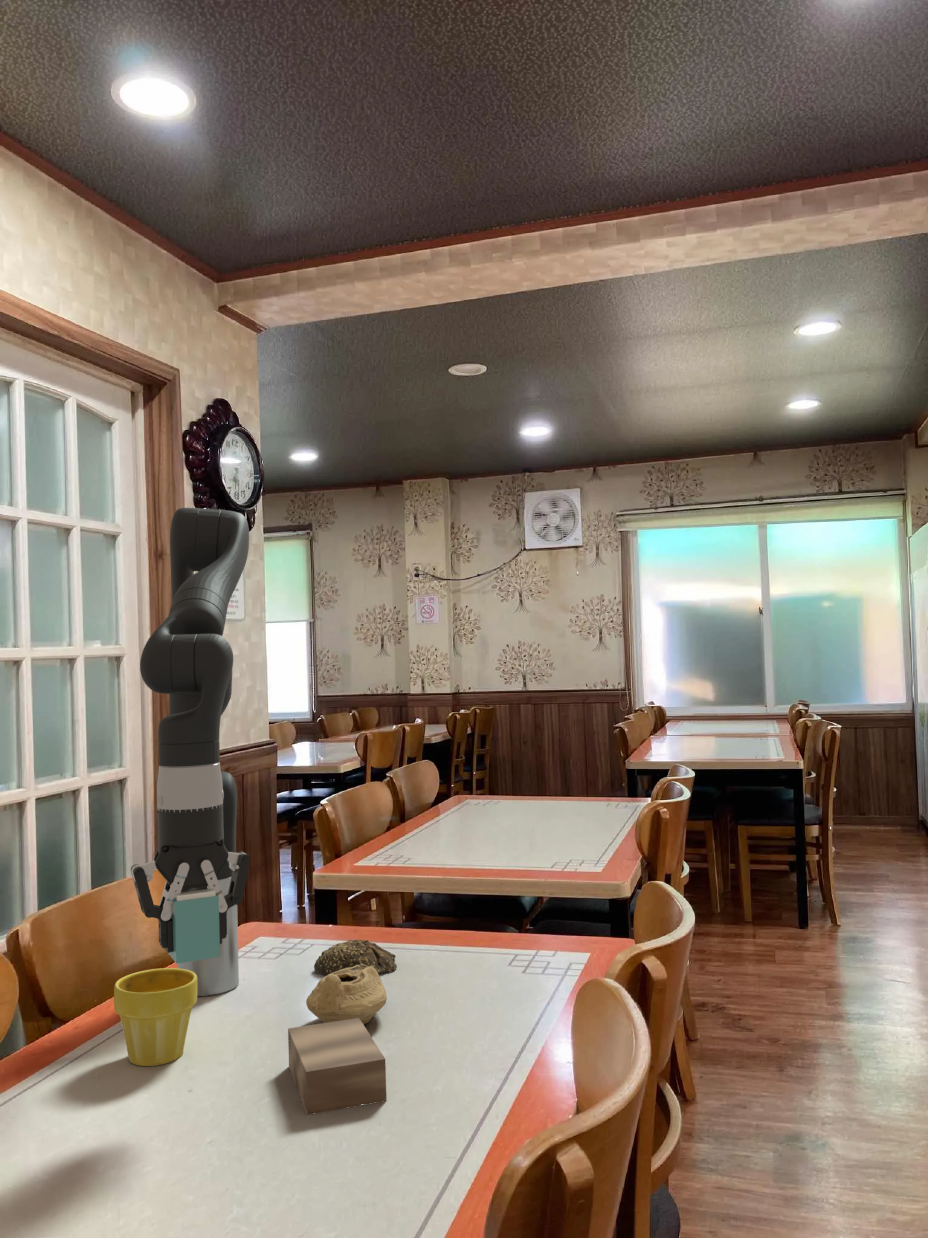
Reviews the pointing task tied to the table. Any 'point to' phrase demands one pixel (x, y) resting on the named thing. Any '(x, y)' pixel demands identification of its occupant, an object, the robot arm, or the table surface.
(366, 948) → the bread roll
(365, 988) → the oil lamp
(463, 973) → the table surface
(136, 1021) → the plant pot
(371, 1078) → the brown rectangular block
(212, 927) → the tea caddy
